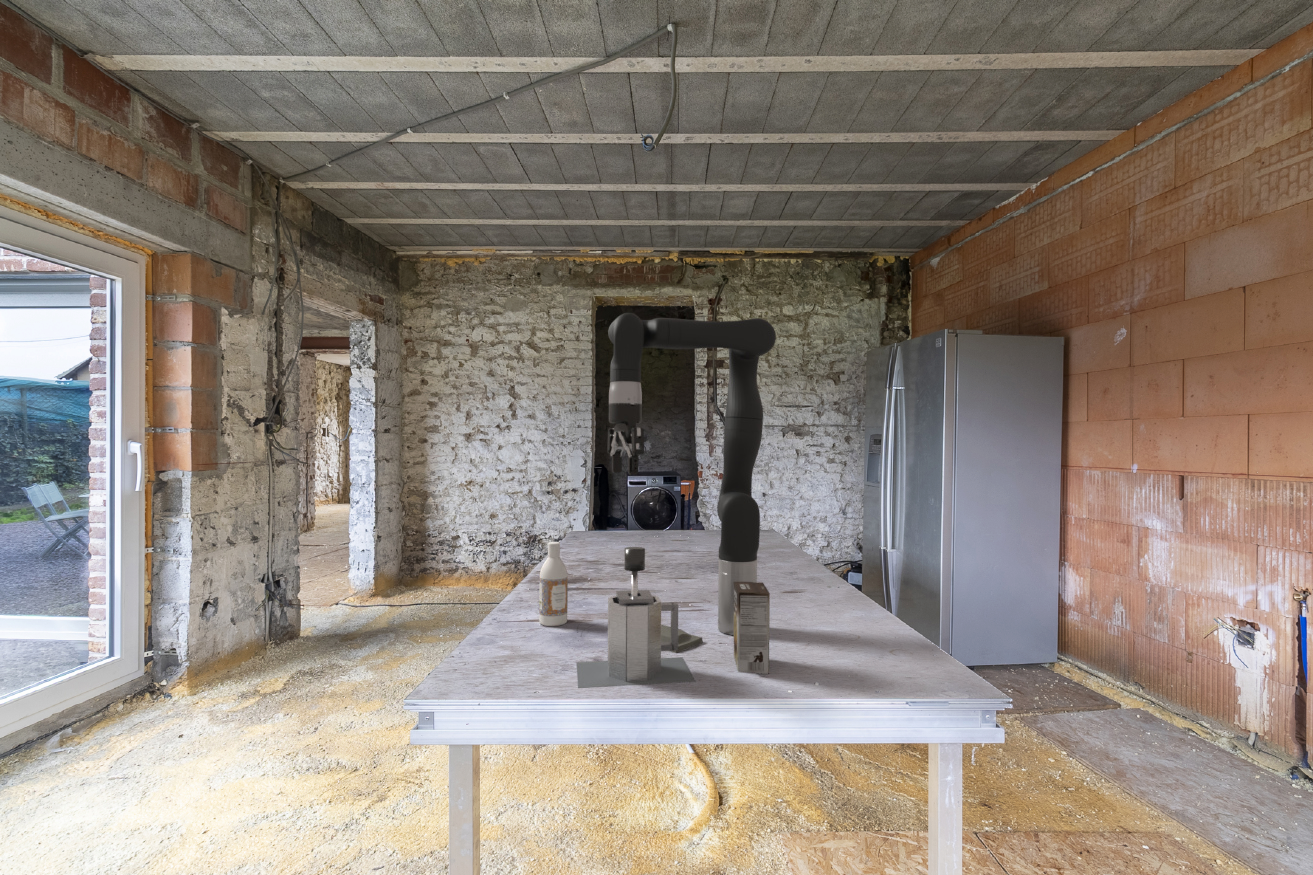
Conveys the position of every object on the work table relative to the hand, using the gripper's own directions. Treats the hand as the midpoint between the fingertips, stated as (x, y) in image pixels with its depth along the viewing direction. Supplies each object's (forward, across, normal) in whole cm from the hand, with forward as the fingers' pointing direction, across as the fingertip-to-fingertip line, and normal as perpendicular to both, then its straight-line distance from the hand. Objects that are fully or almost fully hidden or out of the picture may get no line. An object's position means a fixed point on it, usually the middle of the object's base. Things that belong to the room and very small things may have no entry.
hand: (624, 473), depth 139 cm
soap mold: (+39, +3, +7) cm, 40 cm away
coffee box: (+38, +26, +16) cm, 49 cm away
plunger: (+35, +19, -7) cm, 40 cm away
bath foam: (+38, -20, -10) cm, 44 cm away
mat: (+38, +19, -7) cm, 43 cm away
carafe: (+38, +19, -5) cm, 43 cm away
